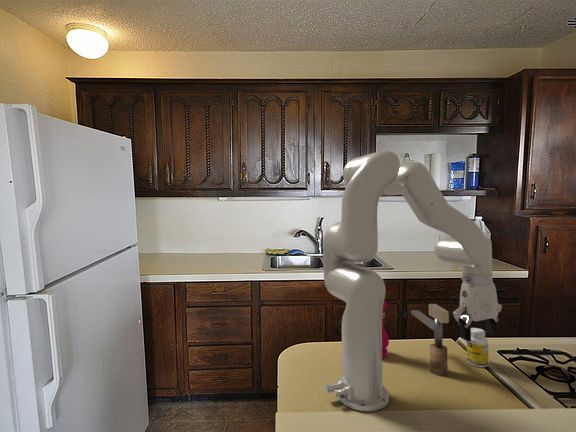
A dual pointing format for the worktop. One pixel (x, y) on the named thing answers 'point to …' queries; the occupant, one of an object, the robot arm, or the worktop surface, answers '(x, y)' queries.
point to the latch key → (436, 325)
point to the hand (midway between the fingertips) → (478, 336)
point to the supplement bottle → (477, 348)
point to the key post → (438, 360)
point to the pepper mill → (384, 335)
